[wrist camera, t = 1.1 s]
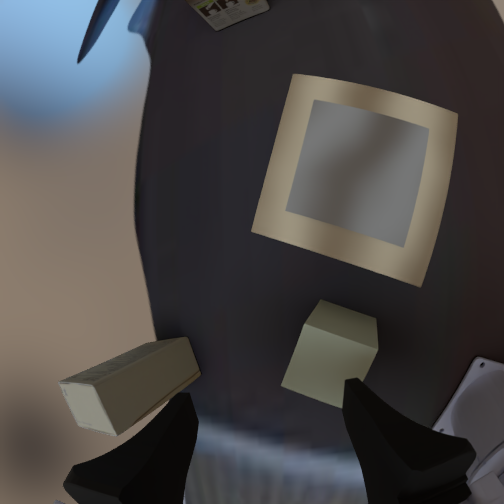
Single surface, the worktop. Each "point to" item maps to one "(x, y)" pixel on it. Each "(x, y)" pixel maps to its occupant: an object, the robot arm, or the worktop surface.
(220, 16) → the coffee box
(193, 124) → the worktop surface
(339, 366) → the green block
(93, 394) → the skincare box
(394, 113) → the base block
